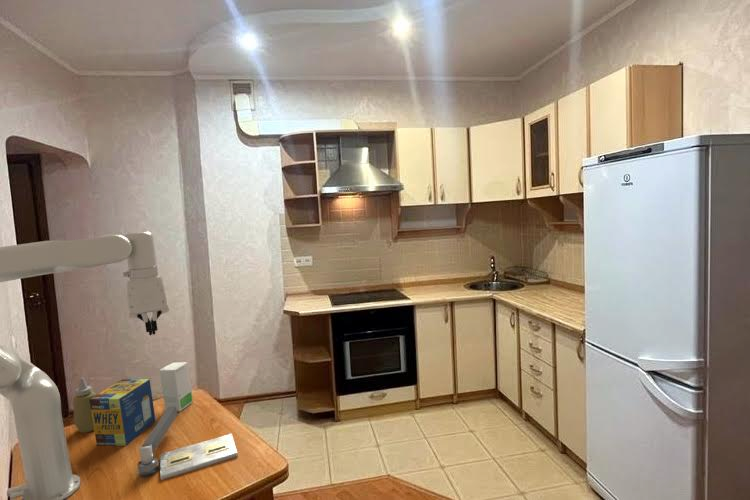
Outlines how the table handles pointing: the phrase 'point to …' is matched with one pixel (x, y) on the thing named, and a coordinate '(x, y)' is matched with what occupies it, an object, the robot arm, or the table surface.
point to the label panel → (197, 456)
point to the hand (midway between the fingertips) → (152, 333)
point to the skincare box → (176, 385)
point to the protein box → (122, 412)
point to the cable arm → (157, 435)
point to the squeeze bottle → (83, 407)
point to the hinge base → (148, 468)
